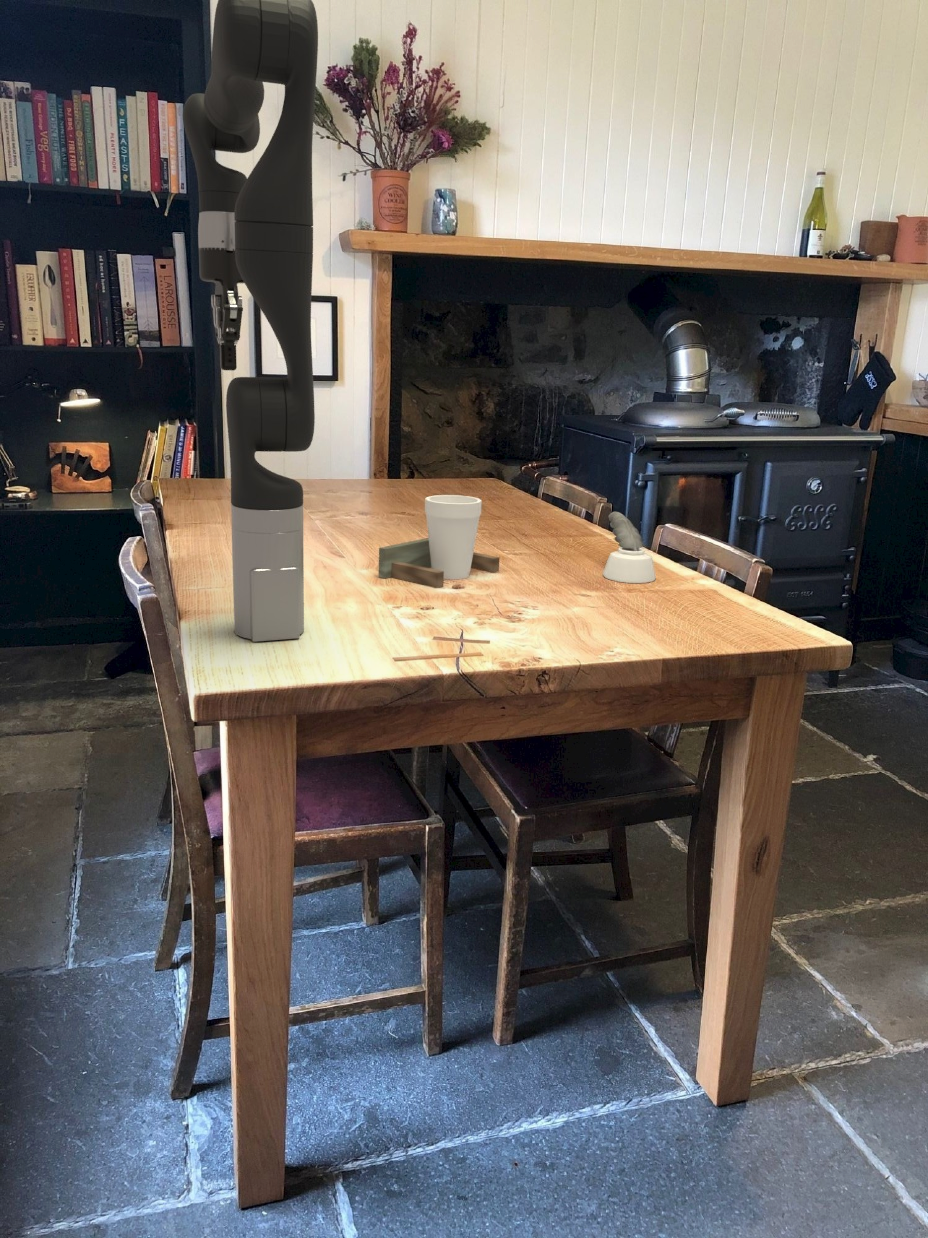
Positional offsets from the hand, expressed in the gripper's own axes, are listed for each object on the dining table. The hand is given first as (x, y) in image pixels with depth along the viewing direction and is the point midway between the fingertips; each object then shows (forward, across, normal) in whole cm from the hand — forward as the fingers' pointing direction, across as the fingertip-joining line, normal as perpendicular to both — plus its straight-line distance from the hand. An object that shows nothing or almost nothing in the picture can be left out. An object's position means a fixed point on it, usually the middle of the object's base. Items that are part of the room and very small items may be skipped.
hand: (228, 369), depth 148 cm
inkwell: (+33, +7, +67) cm, 75 cm away
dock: (+33, +2, +35) cm, 48 cm away
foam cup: (+33, +3, +36) cm, 49 cm away
